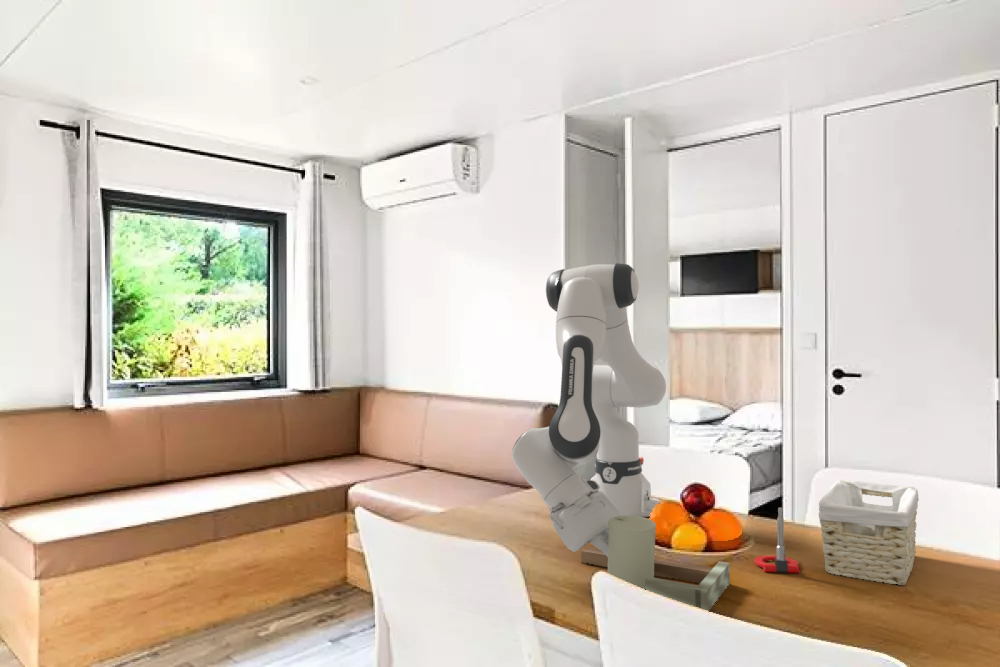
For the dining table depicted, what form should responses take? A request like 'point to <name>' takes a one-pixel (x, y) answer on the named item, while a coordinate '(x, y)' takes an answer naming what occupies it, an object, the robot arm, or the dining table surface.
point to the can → (631, 548)
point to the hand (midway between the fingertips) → (615, 554)
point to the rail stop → (696, 595)
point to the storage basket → (869, 531)
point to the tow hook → (778, 554)
